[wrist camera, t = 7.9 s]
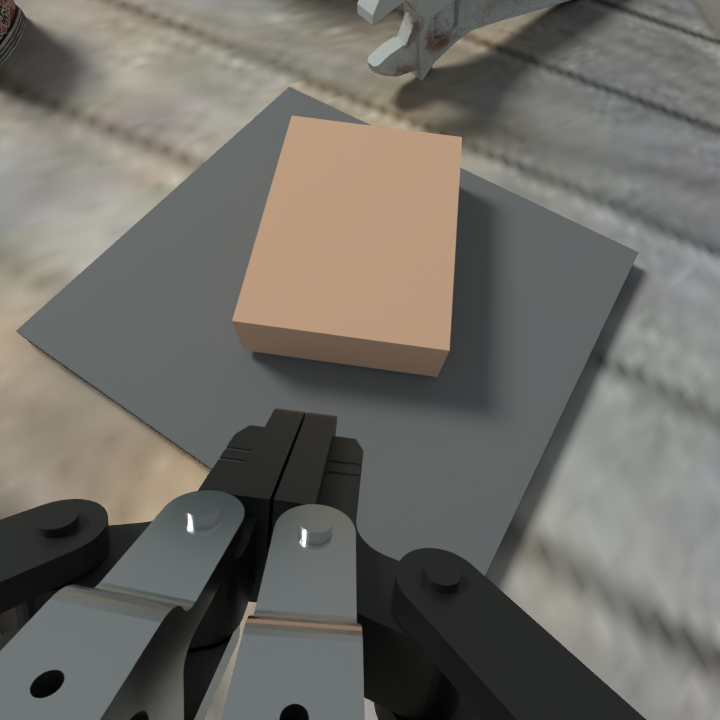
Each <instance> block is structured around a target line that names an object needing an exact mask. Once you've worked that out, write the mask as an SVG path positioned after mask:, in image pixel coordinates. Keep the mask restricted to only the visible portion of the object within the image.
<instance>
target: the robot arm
mask: <svg viewBox="0 0 720 720" xmlns="http://www.w3.org/2000/svg"><path fill="white" fill-rule="evenodd" d="M336 427H337V416H333V415H326V414H318V413H310V412H307V414H306V412H302V411H294V410H286V409H279V408H275V409H274V411H273V413H272V414H271V416H270V418H269V420H268V422H267V424H266V426H265V427H261V426H253V425H249V426H248V427H246V428H244V429H243V430H241V431H239V432H238V433H236V434H235V435H234V436H233V438H232V439H231V441H230V442H229V444H228V445H227V448H226V449H225V450H224V451H223V453H222V455H221V456H220V459H218V461H217V462H216V464H215V465H214V467H213V468H212V470H211V471H210V473H209V474H208V476H207V478H206V479H205V481H204V482H203V484H202V485H201V487H200V488H199V490H198V491H195V492H191V493H187V494H184V495H182V496H179V497H178V498H176V499H174V500H172V501H171V502H170V503H168V504H167V505H166V506H165V507H164V508H163V510H162V511H161V512H160V513H159V514H158V515H157V517H156V518H155V519H154V520H153V521H150V522H144V523H133V524H122V525H111V526H109V525H108V515H107V512H106V510H105V508H104V507H102V506H101V505H100V504H98V503H96V502H93V501H89V500H83V499H68V500H60V501H55V502H51V503H48V504H44V505H41V506H39V507H36V508H33V509H30V510H27V511H24V512H21V513H19V514H16V515H13V516H10V517H7V518H4V519H1V520H0V614H1V613H3V612H5V611H7V610H9V609H12V608H14V607H15V608H16V614H17V620H18V626H19V627H18V628H16V629H14V630H12V631H10V632H8V633H6V634H4V635H2V636H0V720H204V719H205V717H206V714H207V712H208V710H209V707H210V705H211V703H212V700H213V698H214V696H215V693H216V691H217V689H218V686H219V684H220V682H221V679H222V677H223V675H224V672H225V670H226V668H227V665H228V663H229V661H230V658H231V656H232V654H233V652H234V649H235V647H236V645H237V642H238V639H239V634H240V623H241V621H242V618H243V616H244V613H245V610H246V607H247V604H248V601H250V602H257V604H256V608H255V613H254V616H248V618H247V621H246V624H245V627H244V631H243V635H242V639H241V643H240V647H239V651H238V655H237V659H236V663H235V667H234V671H233V675H232V679H231V683H230V687H229V691H228V695H227V699H226V703H225V707H224V711H223V715H222V719H221V720H365V718H364V697H365V698H367V699H369V700H371V701H373V702H374V706H375V711H376V714H377V717H378V720H646V719H645V718H644V717H643V716H641V715H640V714H639V713H638V712H637V711H636V710H635V709H634V708H632V707H631V706H630V705H629V704H628V703H627V702H626V701H625V700H623V699H622V698H621V697H620V696H619V695H618V694H617V693H616V692H614V691H613V690H612V689H611V688H610V687H609V686H608V685H607V684H605V683H604V682H603V681H602V680H601V679H600V678H599V677H598V676H596V675H595V674H594V673H593V672H592V671H591V670H590V669H589V668H587V667H586V666H585V665H584V664H583V663H582V662H581V661H580V660H578V659H577V658H576V657H575V656H574V655H573V654H572V653H571V652H569V651H568V650H567V649H566V648H565V647H564V646H563V645H562V644H560V643H559V642H558V641H557V640H556V639H555V638H554V637H553V636H551V635H550V634H549V633H548V632H547V631H546V630H545V629H544V628H542V627H541V626H540V625H539V624H538V623H537V622H536V621H535V620H533V619H532V618H531V617H530V616H529V615H528V614H527V613H526V612H524V611H523V610H522V609H521V608H520V607H519V606H518V605H517V604H515V603H514V602H513V601H512V600H511V599H510V598H509V597H508V596H506V595H505V594H504V593H503V592H502V591H501V590H500V589H499V588H497V587H496V586H495V585H494V584H493V583H492V582H491V581H490V580H488V579H487V578H486V577H485V576H484V575H483V574H482V573H481V572H479V571H478V570H477V569H476V568H475V567H474V566H473V565H472V564H470V563H469V562H468V561H467V560H465V559H464V558H462V557H460V556H459V555H456V554H454V553H452V552H449V551H446V550H442V549H438V548H421V549H416V550H413V551H411V552H409V553H407V554H406V555H405V556H403V557H402V558H401V560H400V561H398V560H396V559H393V558H391V557H388V556H386V555H384V554H382V553H380V552H378V551H376V550H375V549H373V548H372V547H371V546H369V545H368V544H367V543H366V542H365V541H364V540H363V538H362V537H361V536H360V534H359V532H358V529H357V525H356V519H357V510H358V500H359V490H360V481H361V471H362V461H363V452H364V451H363V449H362V448H361V446H360V445H359V443H358V441H357V440H356V439H353V438H346V437H338V436H336Z"/></svg>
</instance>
